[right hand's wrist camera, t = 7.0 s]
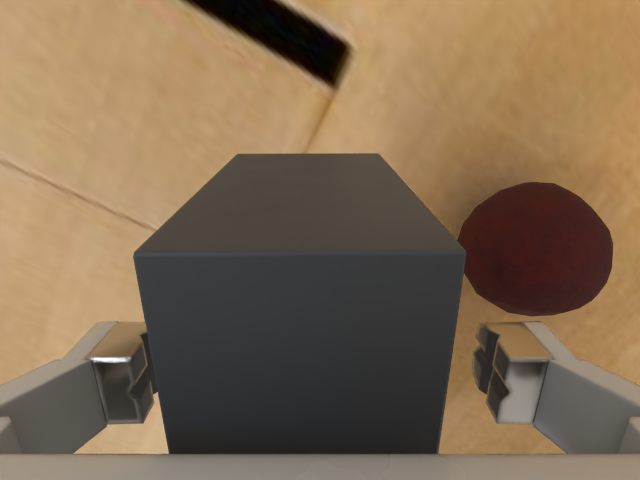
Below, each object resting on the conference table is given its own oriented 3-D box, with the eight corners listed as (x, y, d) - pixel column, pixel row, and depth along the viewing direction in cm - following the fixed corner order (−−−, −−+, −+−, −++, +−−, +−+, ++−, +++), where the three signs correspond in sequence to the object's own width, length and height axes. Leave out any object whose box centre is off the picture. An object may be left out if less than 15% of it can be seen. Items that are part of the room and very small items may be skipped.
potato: (552, 277, 28) (627, 339, 21) (437, 280, 27) (476, 343, 21) (575, 169, 25) (668, 201, 18) (448, 172, 25) (496, 205, 18)
